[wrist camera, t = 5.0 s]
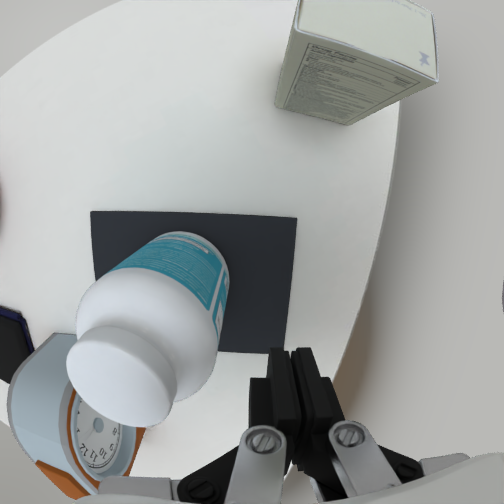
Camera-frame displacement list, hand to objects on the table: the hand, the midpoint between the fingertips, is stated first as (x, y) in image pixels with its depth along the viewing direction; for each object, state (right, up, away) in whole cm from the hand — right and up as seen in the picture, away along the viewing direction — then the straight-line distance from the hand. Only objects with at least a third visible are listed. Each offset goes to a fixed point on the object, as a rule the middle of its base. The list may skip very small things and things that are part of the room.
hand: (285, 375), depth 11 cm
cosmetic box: (+4, +17, +8) cm, 19 cm away
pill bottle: (-7, +3, +11) cm, 14 cm away
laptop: (-37, -8, +14) cm, 41 cm away
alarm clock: (-19, -11, +15) cm, 26 cm away
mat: (-7, +2, +12) cm, 14 cm away
